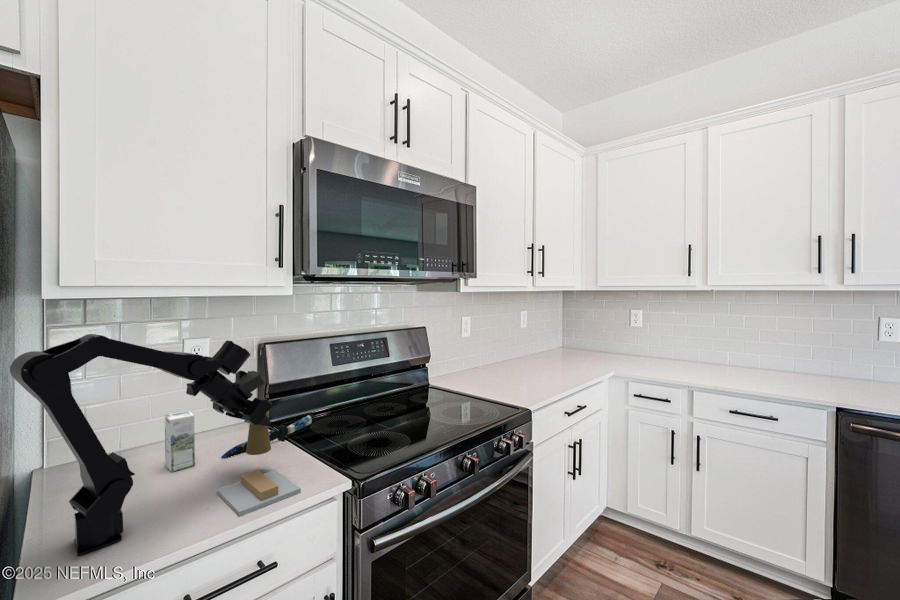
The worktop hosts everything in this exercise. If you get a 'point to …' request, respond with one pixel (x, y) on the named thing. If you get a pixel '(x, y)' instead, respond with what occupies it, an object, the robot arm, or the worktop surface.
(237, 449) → the knife
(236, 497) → the ridge board
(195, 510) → the worktop surface
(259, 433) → the olive pepper mill
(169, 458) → the syrup box
